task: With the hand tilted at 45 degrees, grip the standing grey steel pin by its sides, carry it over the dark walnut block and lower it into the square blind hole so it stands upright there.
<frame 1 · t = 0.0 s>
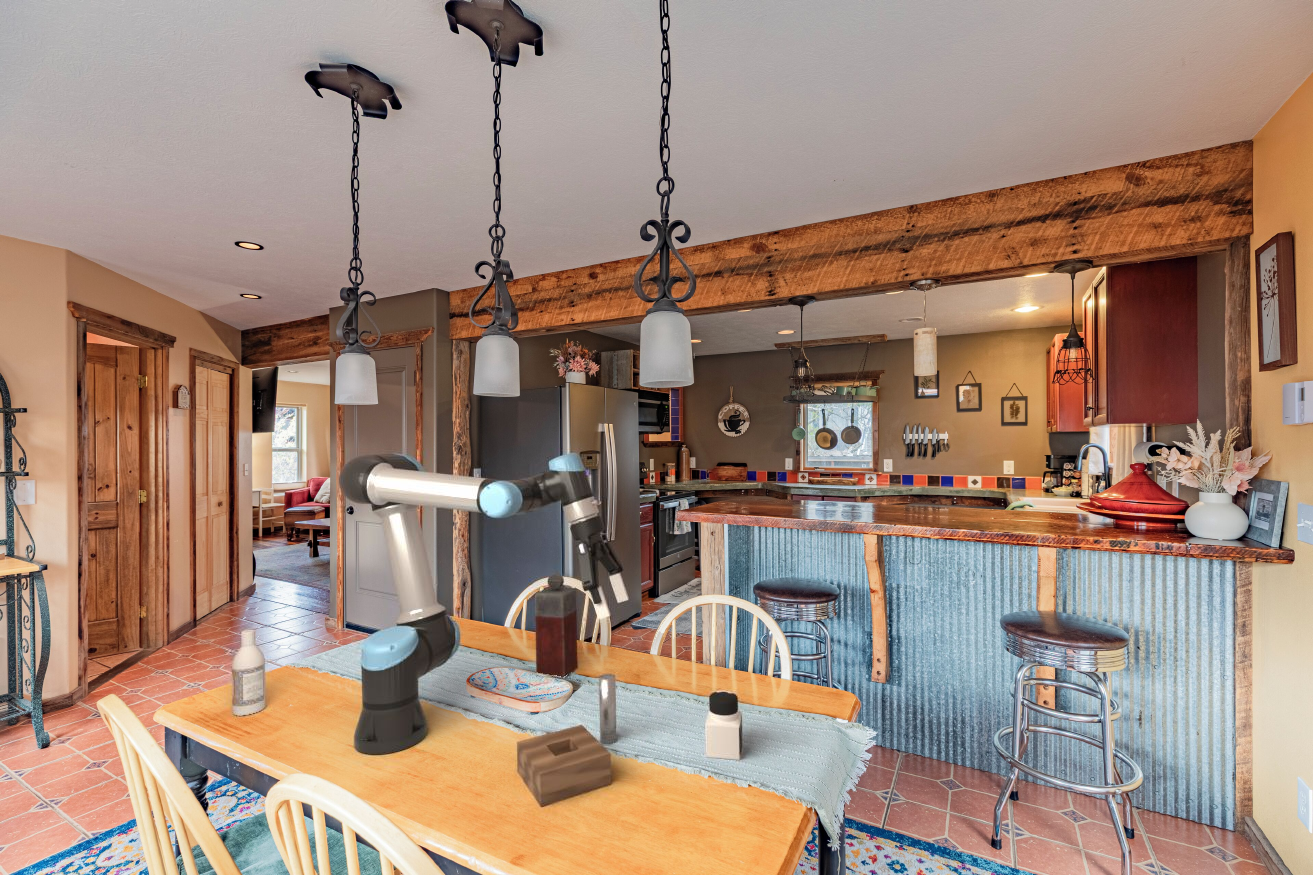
hand: (614, 608, 139), 28 cm above the table, tool tilted 20°, fingers open, 13 cm apart
steel pin: (608, 740, 135), on the table
square glass decanter: (559, 670, 178), on the table
bath foam: (249, 711, 154), on the table
bore block: (563, 777, 121), on the table
medicine bottle: (724, 751, 130), on the table
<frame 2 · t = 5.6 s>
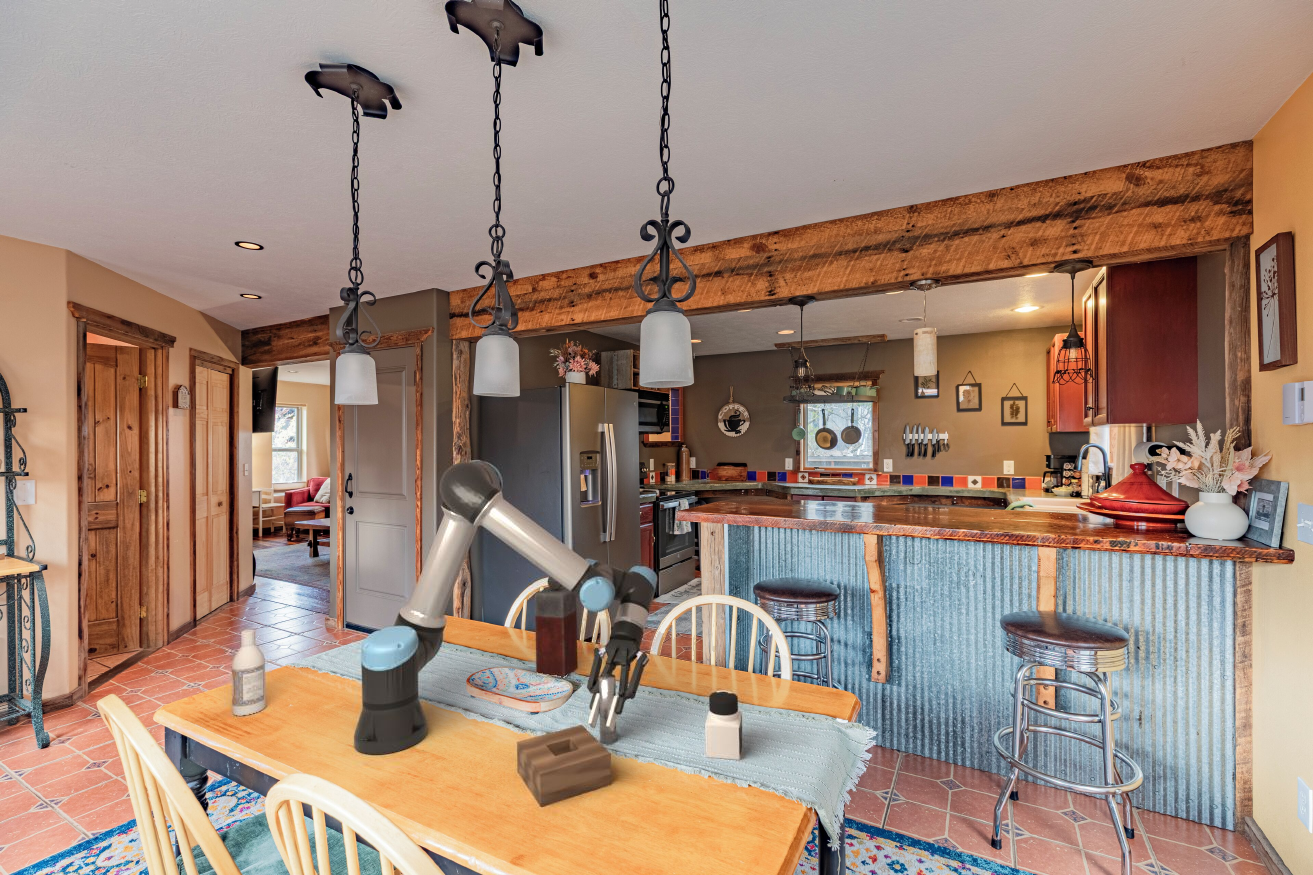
hand: (600, 726, 132), 5 cm above the table, tool tilted 45°, fingers closed on steel pin, 3 cm apart
steel pin: (608, 740, 135), on the table, touching gripper
everything else where it was.
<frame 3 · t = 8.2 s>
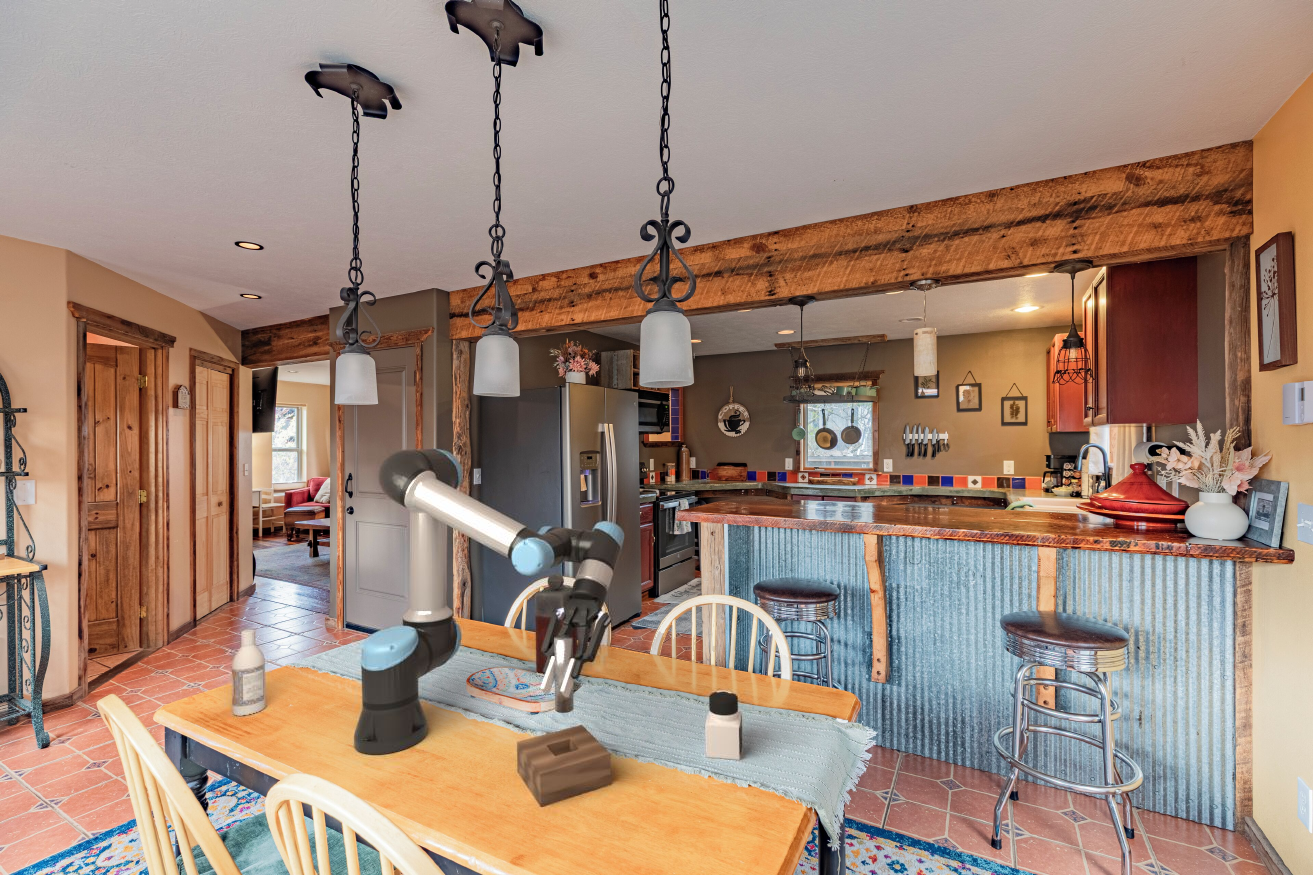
hand: (554, 692, 118), 18 cm above the table, tool tilted 45°, fingers closed on steel pin, 3 cm apart
steel pin: (564, 708, 121), point 13 cm above the table, touching gripper
everything else where it was.
when the fingers open (9 cm above the table, at t = 10.7 s): steel pin drops 2 cm, resting on bore block.
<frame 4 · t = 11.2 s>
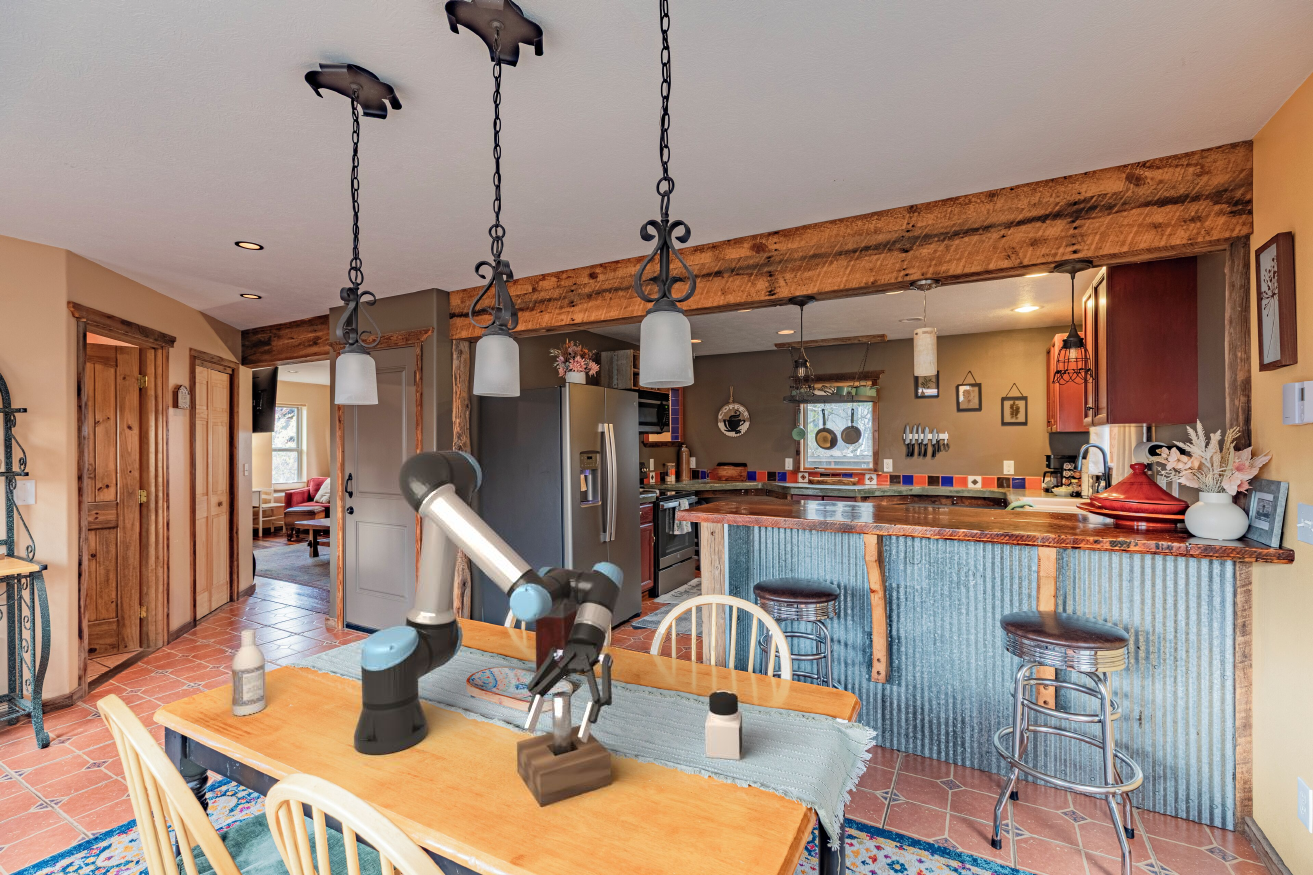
hand: (555, 735, 118), 10 cm above the table, tool tilted 45°, fingers open, 11 cm apart
steel pin: (562, 767, 121), point 2 cm above the table, touching bore block
everything else where it was.
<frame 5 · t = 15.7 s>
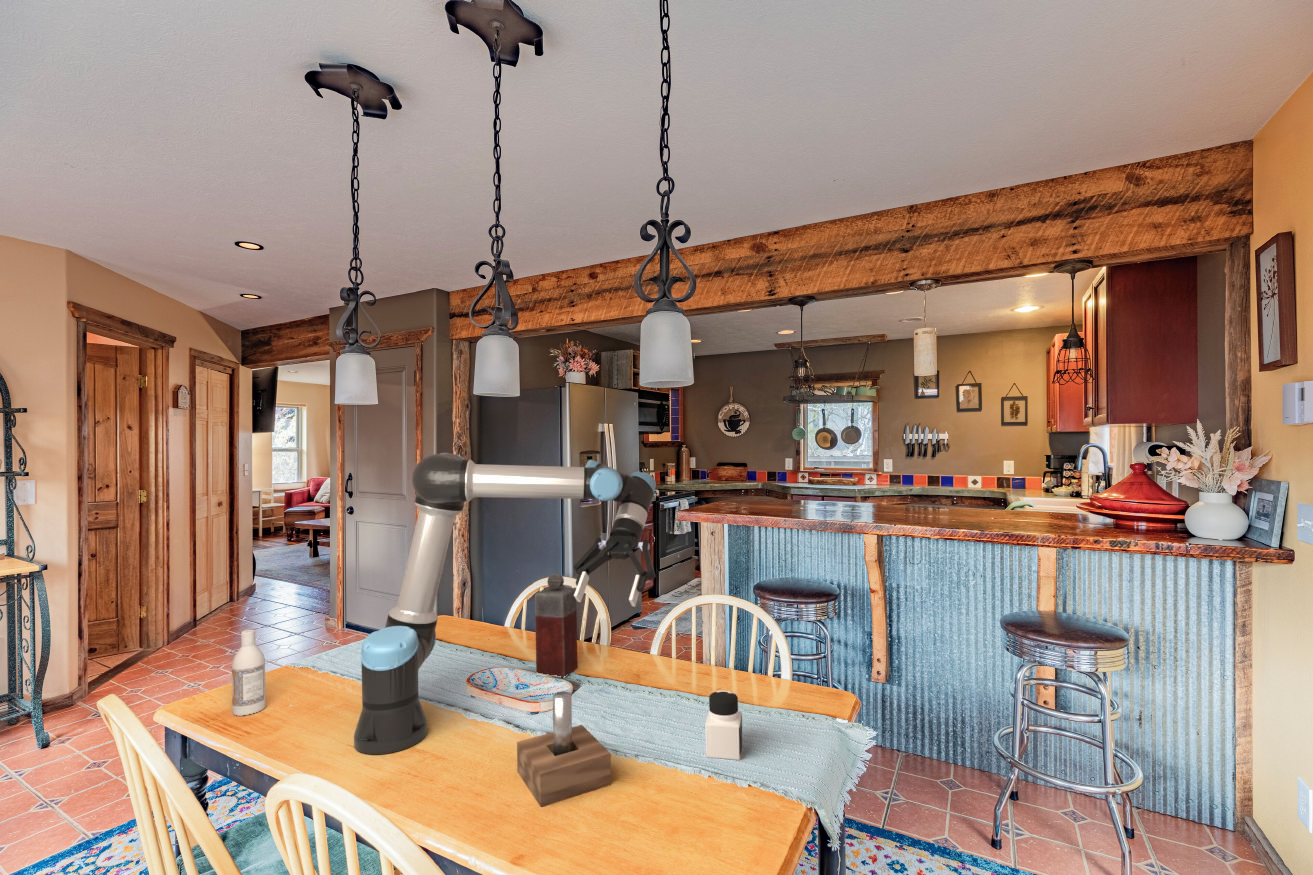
hand: (604, 601, 139), 30 cm above the table, tool tilted 45°, fingers open, 13 cm apart
nothing on the table moved.
at the end: steel pin 0.1 cm off-centre on the bore block, point 2.1 cm above the bore block's base; steel pin tilted 0°; the gripper is holding nothing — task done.
